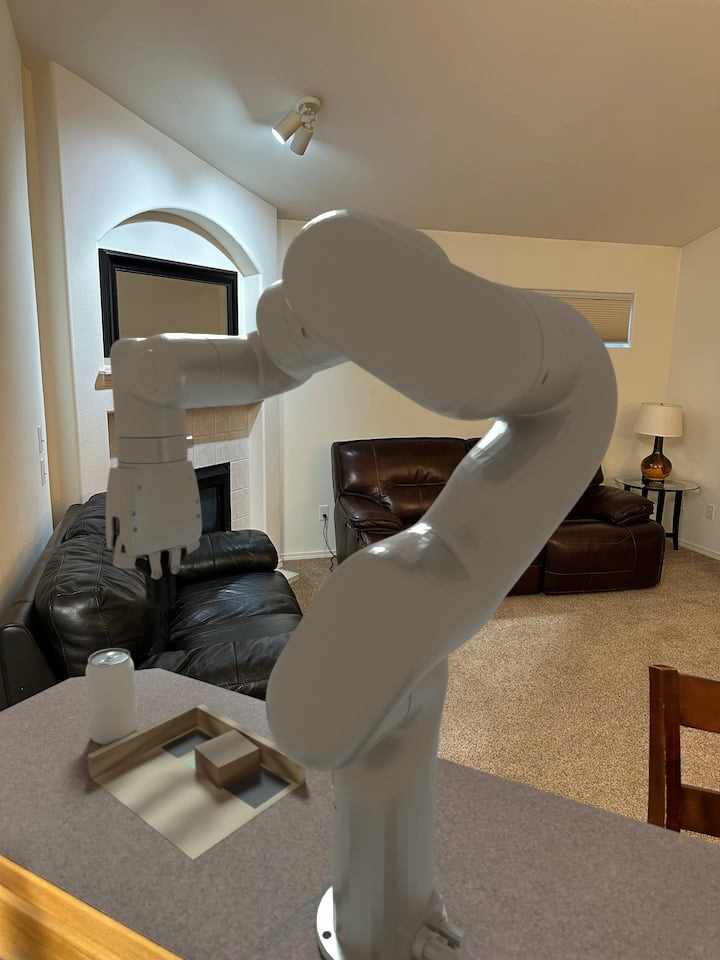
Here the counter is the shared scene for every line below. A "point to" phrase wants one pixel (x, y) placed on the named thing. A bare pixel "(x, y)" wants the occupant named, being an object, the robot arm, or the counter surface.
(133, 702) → the can
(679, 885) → the counter surface
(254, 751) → the block
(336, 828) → the robot arm
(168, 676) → the counter surface
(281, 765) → the board
